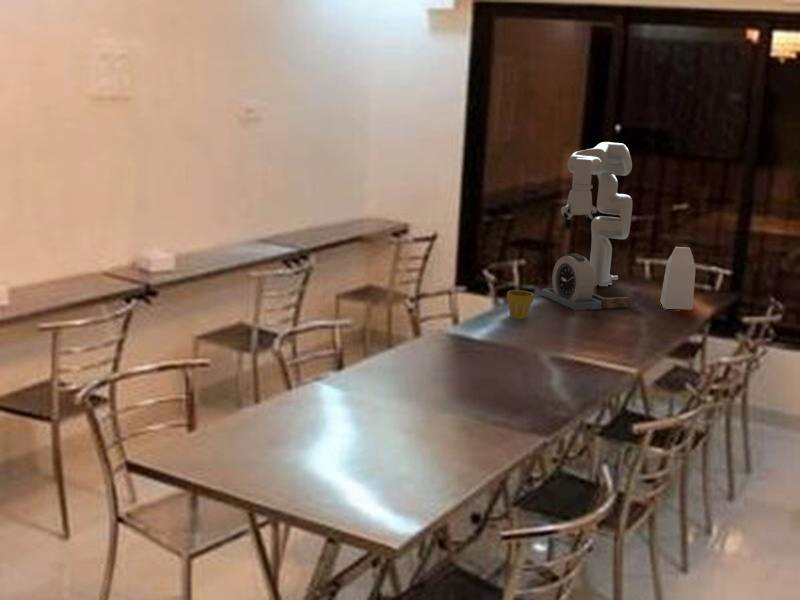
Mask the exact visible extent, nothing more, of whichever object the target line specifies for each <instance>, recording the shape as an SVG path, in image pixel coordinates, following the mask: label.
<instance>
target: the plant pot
mask: <svg viewBox="0 0 800 600" xmlns="http://www.w3.org/2000/svg"><path fill="white" fill-rule="evenodd" d="M506 300H507V302H508V308H509V317H510V318H512V319H519V320H520V319H521V320H522V319H523V320H524V319H527V317H528V314H529V311H530V308H531V305H532V304H533V302H534V293H533V292H531V291H527V290H519V289H517V290H516V289H515V290H514V289H513V290H508V291H507V293H506Z"/></svg>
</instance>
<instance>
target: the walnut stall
mask: <svg viewBox="0 0 800 600" xmlns="http://www.w3.org/2000/svg"><path fill="white" fill-rule="evenodd" d="M597 289H598V286H597V285H594V291H593V294H592V297H591V298H594V299H596V300H598V301H601V302H602V308H601V309H613V308H614V309H615V308H628V304H629V297H627V296H626V297H624V296H623V297H622V296H621V297H603V296H601V295H599V294H597Z"/></svg>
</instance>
